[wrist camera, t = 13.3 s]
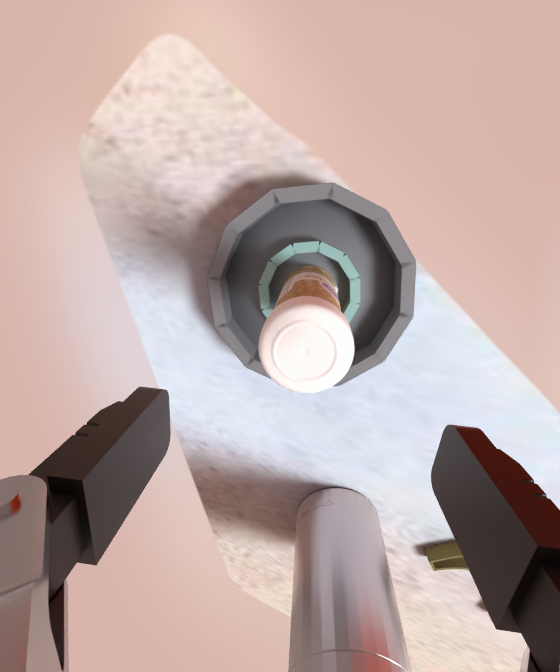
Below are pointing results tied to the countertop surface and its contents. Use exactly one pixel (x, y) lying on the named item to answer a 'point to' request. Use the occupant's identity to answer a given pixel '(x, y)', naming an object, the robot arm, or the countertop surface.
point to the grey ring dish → (321, 251)
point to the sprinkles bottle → (307, 334)
